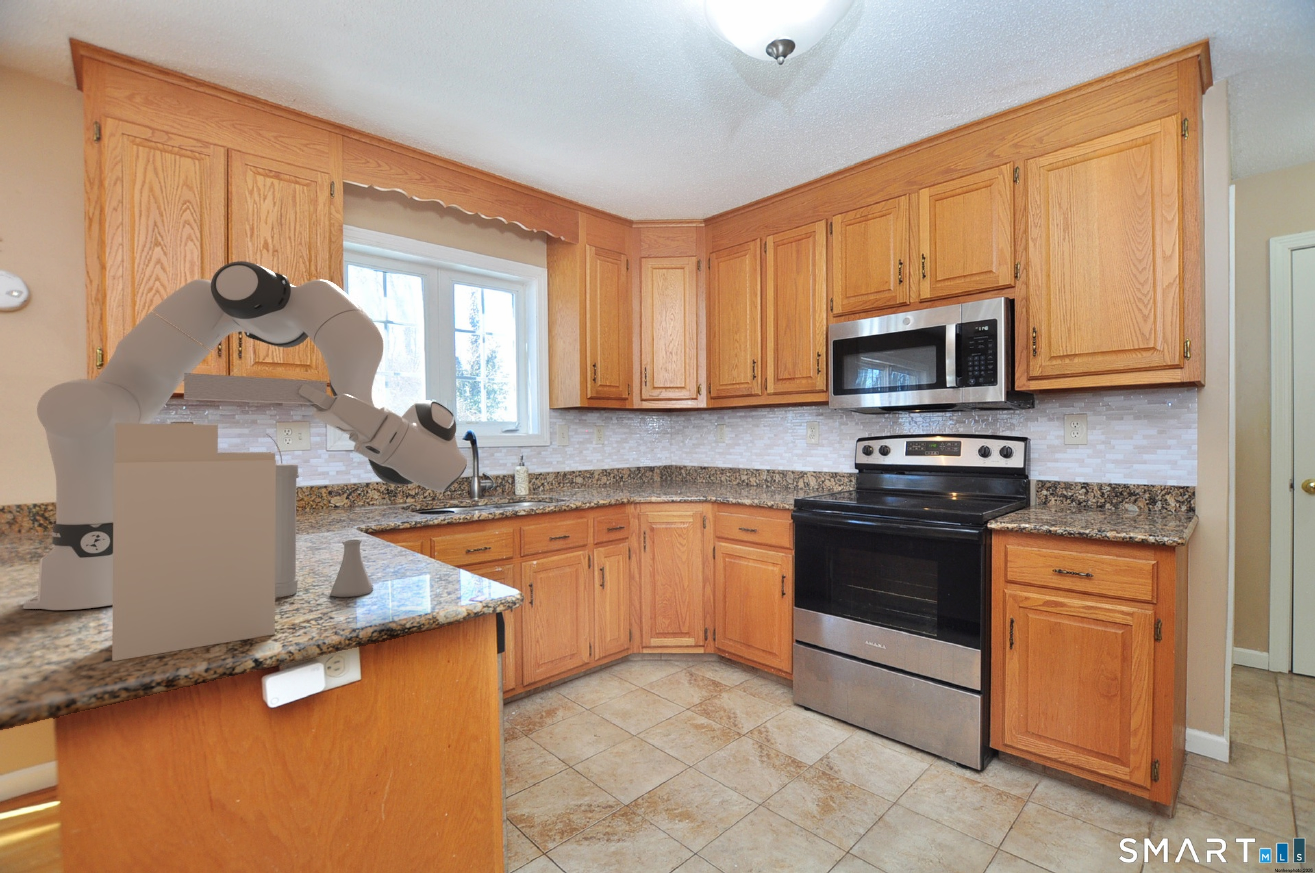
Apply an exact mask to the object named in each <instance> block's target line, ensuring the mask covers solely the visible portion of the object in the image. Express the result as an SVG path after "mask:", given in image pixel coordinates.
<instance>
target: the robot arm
mask: <svg viewBox="0 0 1315 873" xmlns="http://www.w3.org/2000/svg"><path fill="white" fill-rule="evenodd" d="M239 332H243V333H244V335H245V336H246V337H247V338H248V339H251V340H255V341H259V342H261V343H265V344H266V345H270V346H274V347H278V348H283V349H286V348H294V347H297V346H299V345H301V344H303V343H304V342H305V341H306V340H308V338H309V339H310V340H311V341H312V343H313V344H314V346H315V347H317V349H318V351H319V353H320V354H321V356H322V357H323V360H324V363H325V365H326V368H327V372H328V376H329V388H330V391H331V393H332V395H330V394H328V393H327V394H326V393H323V392H321V391H319V390H316V389H314V388H312V387H310V386H309V385H307V384H304V385H302V386H301V387H300V389H299V390H298V394H299V395H301V396H303V397H304V398H306V399H309V400H311V401H312V402H314V403H316V404H307V405H308V406H309V407H311V408H313V409H314V410H313V412H312V416H313V417H314V418H315V419H317V420H319V421H321V422H323V423H324V424H326V425H328V426H330V427H331V428H334V429H336V430H338V431H339V432H342V433H344V434H345V435H348V440H349V441H351V442H353V443H354V446H353V450H354V452H355V453H357V454H359V455H361V456H362V457H364V458H367V460H368V463H369V465H370V467H371V469H372V471H373V473H374V475H375V476H376V477H377V478H378V479H380V480H381V481H382V482H384V483H386V484H388V485H394V486H407V485H412V484H416V485H418V486H421V487H423V488H426V489H429V490H431V491H435V492H438V493H439V492H440V493H443V492H447V491H448V490H450V489H451V488H452V487H453V486H454V485H455V484H456V483H457V482H458V480H460V478H461V476H462V475H463V474H464V473H465V471H466V469H467V465H468V460H467V457H465V455H464V454H463V453H462V452H461V451H460V449H459V446H458V443H457V439H456V433H457V421H456V419H455V415H454V414H453V412H451V410H450V409H448V408H447V407H446V406H444V405H443V404H442V403H439V402H437V401H435V400H433V401H432V400H429V399H427V400H422V399H421V400H418V401H416V402H415V403H413V405H411V406H410V407H409V408H407V410H406V411H405V412H404V414H403V415H402V416H400V415H398V414H397V413H395V412H393V411H392V410H389V408H386V406H385V407H384V406H382V407H381V408H377V407H376V406H375V404H374V401H373V395H372V394H373V393H372V392H373V387H374V386H373V385H374V382H375V377H376V374H377V370H379V369H378V368H379V366H380V364H381V361H382V359H383V355H384V338H383V337H382V334H381V332H380V330H379V328H378V327H377V325H376V324H375V322H374V321H373V320H372V319H371V318H370V317H369V316H368V314H367V312H365V310H363V309H362V307H360V306H359V304H358V303H357V302H356V301H355V300H354V299H353V298H351V296H349V295H348V294H347V293H346V292H345V291H343V290H342V289H341V288H340V287H339V286H338V285H336V284H335V283H333V282H331V281H329V280H326V279H313V280H309V281H306V282H305V283H303V284H301V285H292V284H290V281H289V278H288V277H287V276H285V275H283V274H281V273H279V272H275V271H272V270H270V269H267V268H265V267H264V266H261V265H259V264H256V263H253V262H250V261H240V260H239V261H232V262H228V263H227V264H225V265H223V266H221V267H220V268H219V269H218V270H216V271H215V273H214V274H213V276H212V279H211V280H210V279H204V278H197V279H193V280H191V281H189V282H188V283H186V284H184V285H183V286H181V287H179V288H178V289H177V290H175V291H174V292H172V293H170V295H168V296H167V297H166V298H164V299H163V300H162V301H161V302H160V303H158V304H157V305H156V306H155V307H154V308H153V309H152V310H150V311H149V312H148V314H147V315H145V316H144V318H142V319H141V320H140V321H139V323H137V324H136V325H135V326H134V327H133V328H132V329H131V330H130V331H129V332H128V333H126V335H124V337H123V338H121V340H120V341H118V343H117V344H116V347H115V350H114V352H113V353H112V355H111V357H110V359H109V360H108V362H107V363H106V365H105V366H104V367H103V368H102V371H101V372H100V373H99V374H98V375H97V376H96V378H94V379H90V378H79V379H71V380H68V381H64V382H61V383H60V384H57V385H55V386H53V387H50V388H49V389H47V390H46V391H45V392H44V393H43V395H41V397H40V398H39V401H38V403H37V407H36V413H37V417H38V420H39V422H40V423H41V425H42V427H43V429H44V430H45V433H46V439H47V444H48V448H49V452H50V453H49V454H50V456H51V461H52V463H53V470H54V474H55V475H54V476H55V483H56V485H55V489H56V490H55V491H56V492H55V493H56V494H55V495H56V500H55V502H56V505H55V506H56V509H55V510H56V511H55V512H56V513H55V514H56V515H55V517H56V521H55V522H56V523H54V524H52V530H51V537H52V538H51V540H52V541H51V544H52V545H54V546H53V548H52V549H51V550H50V551H49V552H47V553H46V554H45V555H44V556H43V557H41V558H40V560H39V568H38V569H39V570H38V571H39V572H38V582H37V583H38V584H37V596H34V597H32V598H30V599H28V600H26V601H24V602H23V606H22V607H23V608H22V609H23V610H31V609H32V610H34V609H35V610H36V609H37V610H38V609H39V610H40V609H41V610H47V611H69V610H70V611H71V610H82V609H91V608H93V609H94V608H101V607H107V606H113V496H114V462H115V423H136V424H152V421H153V420H154V419H155V418H156V417H157V415H158V414H159V413H160V412H161V410H163V408H164V407H165V405H166V404H167V403H168V401H169V400H170V398H171V397H172V396H173V395H174V393H175V392H176V390H177V389H178V388H179V386H180V385H181V384H182V383H183V382H184V373H193V371H194V370H195V369H196V368H197V367H198V366H199V365H200V364H201V363H202V362H203V361H204V360H205V359H206V358H207V357H208V356H209V355H210V353H212V351H214V350H215V348H217V346H218V345H219V344H220V343H221V342H222V341H223V340H224V339H225V338H226V337H228V336H229V335H231V334H233V333H239Z"/></svg>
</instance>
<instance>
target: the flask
mask: <svg viewBox="0 0 1315 873" xmlns="http://www.w3.org/2000/svg"><path fill="white" fill-rule="evenodd" d="M362 541H363V540H362V539H357V538H353V539H350V538H349V539H345V540H343V541H342V545H343V557H342V561H341V564H340V568H339V569H338V570H339V571H338V573H337V576H336V578H335V581H334V583H333V586H332V588H331V591H330V593H329V596H330V597H338V598H347V597H348V598H350V597H360V596H363V595H366V594H369V593H372V592H373V590H374V587H373V585H372V582H371V579H370V577H369V574H368V573H367V570H366V567H365V564H364V562H363V559H362V555H361V543H362Z"/></svg>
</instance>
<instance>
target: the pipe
mask: <svg viewBox="0 0 1315 873" xmlns="http://www.w3.org/2000/svg"><path fill="white" fill-rule="evenodd" d="M265 435H267V437H269V438H270V439H271V440H272V442H273V443H274V445H275V446H276V448H277V450H278V453H279V458H280V463H276V525H275V599H276V598H285V597H289V596H292V595H295V594H296V593H297V592H298V583H299V578H298V577H296V576H297V574H296V573H297V572H296V571H297V569H296V567H297V566H296V565H297V561H296V560H297V547H296V546H297V479H299V478H300V473H299V465H298V464H297V463H283V458H282V453H281V450H280V447H279V445H278V444H277V442H276V440H275V439H274V437H272V436H271V435H270V434H268V433H265ZM284 596H285V597H284Z"/></svg>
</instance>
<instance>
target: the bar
mask: <svg viewBox="0 0 1315 873" xmlns="http://www.w3.org/2000/svg"><path fill="white" fill-rule="evenodd" d="M304 384H307V385H309V386H310V387H312V388H314V389H316V390H319V391H321V392H323V393H326V394H328V393H327V388H328V386H327V385H328V381H327V380H326V381H325V380H312V379H311V380H310V379H296V378H280V377H279V378H275V377H262V376H261V377H259V376H247V375H246V376H244V375H243V376H242V375H230V374H229V375H228V374H227V375H226V374H212V373H211V374H210V373H193V372H191V373H184V380H183V400H195V401H196V400H197V401H220V402H222V401H225V402H226V401H227V402H243V403H244V402H245V403H247V402H248V403H274V404H275V403H277V404H304V405H305V404H306V405H308V404H316V403H314V402H312V401H311V400H309V399H306V398H304V397H303V396H301V395H299V394H298V390H299V389H300V387H301V386H302V385H304Z"/></svg>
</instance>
